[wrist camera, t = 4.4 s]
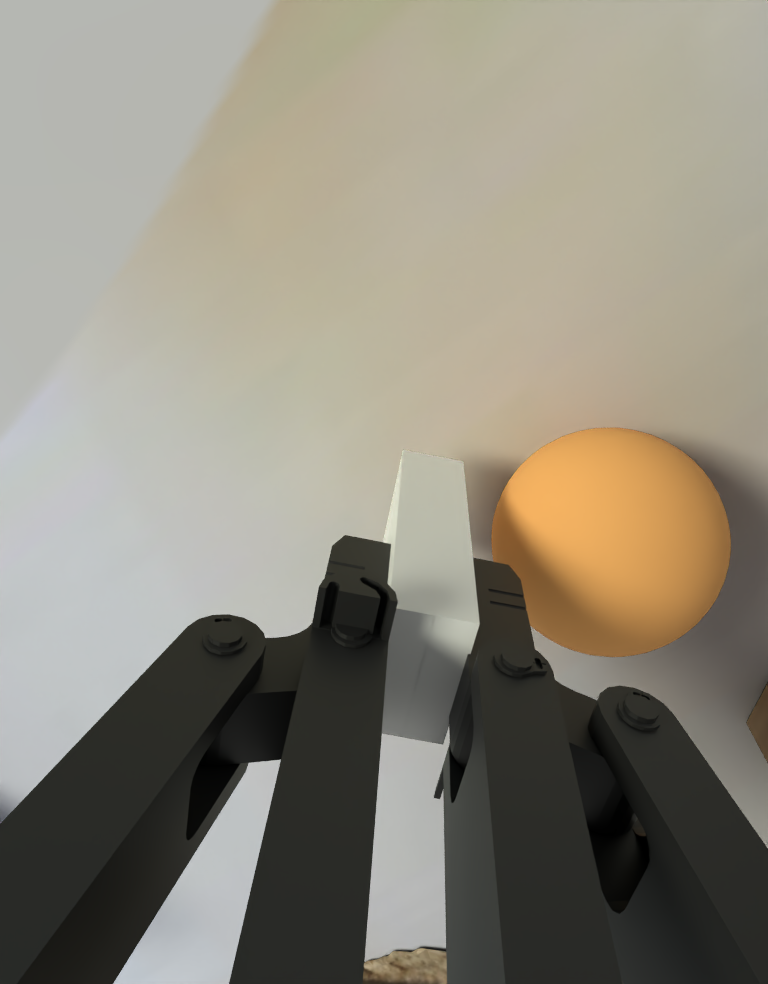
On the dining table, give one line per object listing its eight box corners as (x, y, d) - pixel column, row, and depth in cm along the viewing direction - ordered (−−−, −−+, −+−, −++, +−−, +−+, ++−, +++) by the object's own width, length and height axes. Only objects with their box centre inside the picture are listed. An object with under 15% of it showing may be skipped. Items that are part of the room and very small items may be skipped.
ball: (699, 521, 13) (814, 481, 17) (483, 397, 17) (616, 385, 20) (590, 740, 16) (711, 665, 19) (422, 593, 19) (551, 552, 23)
